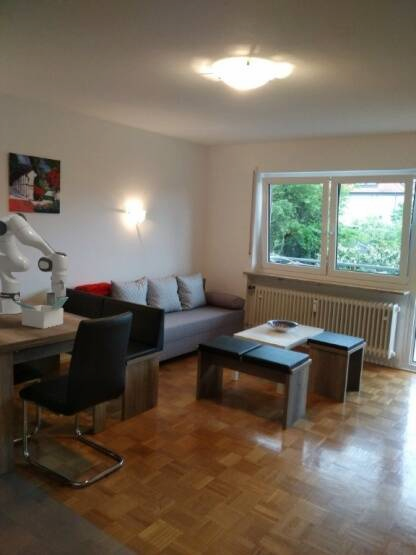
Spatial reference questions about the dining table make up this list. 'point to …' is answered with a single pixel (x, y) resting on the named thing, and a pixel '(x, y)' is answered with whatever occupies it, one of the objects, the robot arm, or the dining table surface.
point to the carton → (42, 316)
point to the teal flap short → (59, 303)
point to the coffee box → (51, 299)
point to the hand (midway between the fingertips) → (57, 301)
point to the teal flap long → (25, 305)
